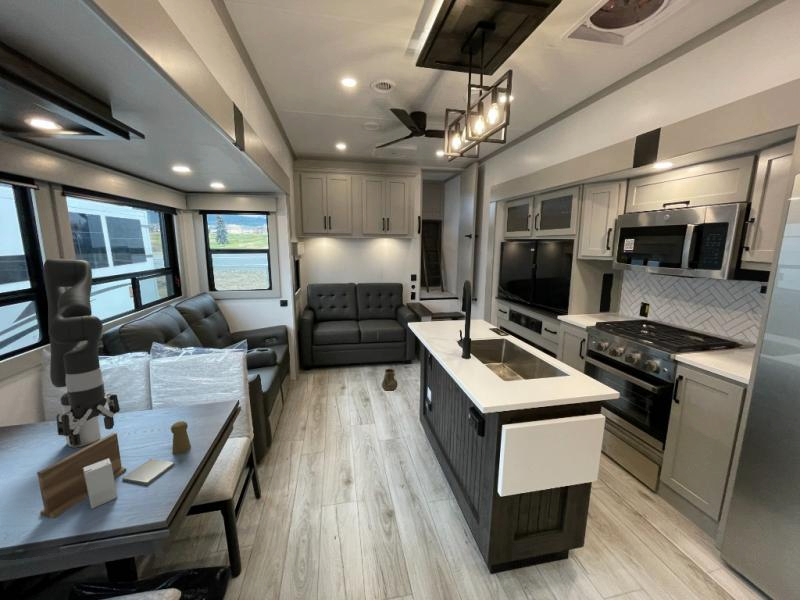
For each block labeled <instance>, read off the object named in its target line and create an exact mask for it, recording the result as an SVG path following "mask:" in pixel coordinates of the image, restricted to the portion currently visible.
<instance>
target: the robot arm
mask: <svg viewBox="0 0 800 600" xmlns="http://www.w3.org/2000/svg"><path fill="white" fill-rule="evenodd" d="M91 266H92V265H91V264H90V263H89V262H88V261H86V260H84V259H82V260H81V259H66V258H47V259H46V260H45V261H44V264H43V271H42V272H43V278H44V285H45V291H46V298H47V308H48V309H47V310H48V311H47V315H48V317H47V319H48V322H47V323H48V324H47V325H48V336H49V343H50V365H49V367H50V368H49V375H50V381H51V384H52V385H53V386H54V387H55V388H65V387H66V392H65V393H64V394H63V395H61V397H60V405H61V410H62V413H58V414H57V415H56V416H55V417H56V426H57V435H58V436H63V437H65V440H66V444H67V446H68V447H69V448H74V449H75V448H81V447H86V446H89V445H91V444H93V443H95V442H97V441H99V440H100V439H101V437H102V436H101V435H102V434H101V429H100V422H99V421H100V420H99V416H100V415H101V416H103V423H104V429H105V430H109V431H110V430H112V429H113V428H114V425H115V420H114V417H115V414H116V413H119V412H120V411H121V408H120V403H119V400H118V399H119V398H118V395H117V394H114V393H108V394H107V395H106V389H105V384H104V378H103V373H102V370H101V365H100V359H99V346H100V339H101V336H102V333H103V322H102V319H100V318H99V317H97V316H96V315H92V305H91V295H92V294H91V293H92V287H93V272H92V271H93V270H92V267H91ZM61 288H68V289H66V290H65V291H63V290H62V289H61ZM62 291H63V292H62ZM86 341H87V342H86ZM81 342H86V344H85V345H83V346H81V347H78V348H76V347H77V346H78V345H79V344H80V343H81ZM75 348H76V349H75ZM106 404H107V405H108V408H107V407H106Z"/></svg>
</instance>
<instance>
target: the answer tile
mask: <svg viewBox="0 0 800 600" xmlns="http://www.w3.org/2000/svg"><path fill="white" fill-rule="evenodd" d="M174 466H175V462H171V461H168V460H167V461H166V460H159V459H152V458H151V459H148V460H147V461H146V462H144V463H142V464H141V465H140V466H138V467H136V468H135V469H134V470H132V471H130V472H129V473H128V474H126V475H124V476H123V477H122V478H121V480H125V481H124V482H127V481H130V482H129V483H132V482H134V483H135V484H138V485H144V486H149V485H150V484H151V483H152V482H154V481H156V480H157V479H158V478H159V477H160V476H162V475H163V474H164V473H166V472H167V471H168V470H170V469H171V468H172V467H174ZM134 483H133V484H134Z"/></svg>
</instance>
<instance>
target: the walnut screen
mask: <svg viewBox="0 0 800 600" xmlns="http://www.w3.org/2000/svg"><path fill="white" fill-rule="evenodd" d="M108 458H109V459H110V462H111V464H112V470H113V475H114V478H115V477H116V478H118V477H119V476H121V475H122V474H123V472H124V473H125V472H127V468H126V467H122V459H121V452H120V445H119V439H118V433H115V432H113V433H110V434H108V435H107V436H105V437H103V438H100V439H98V440H97V441H95V442H93V443H91V444H88V445H86V446H84V447H83V448H82V449H79V450H78V451H76V452H74V453H72V454H70V455H68V456H66V457H65V458H63V459H60V460H59V461H57V462H54V463H52V464H51V465H49V466H47V467H45V468H43V469H41V470H39V471H37V478H38V479H37V480H38V484H39V489H40V494H41V500H42V505H43V509H42V510H41V511H40V516H42V517H46V518H51V519H55V518H58V516H61V515H62V514H64V513H65V512H66V511H68V510H70V509H71V508H72V507H74V506H76V505H77V504H79V503H80V502H81V501H83V500H85V499H86V498H87V497H89V496H88V491H87V486H86V481H85V476H84V471H83V468H84V467H87V466H89V465H92V464H95V463H97V462H100V461H103V460H105V459H108ZM121 473H122V474H121ZM120 474H121V475H120ZM118 475H119V476H118ZM117 476H118V477H117ZM116 478H115V479H116Z"/></svg>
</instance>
